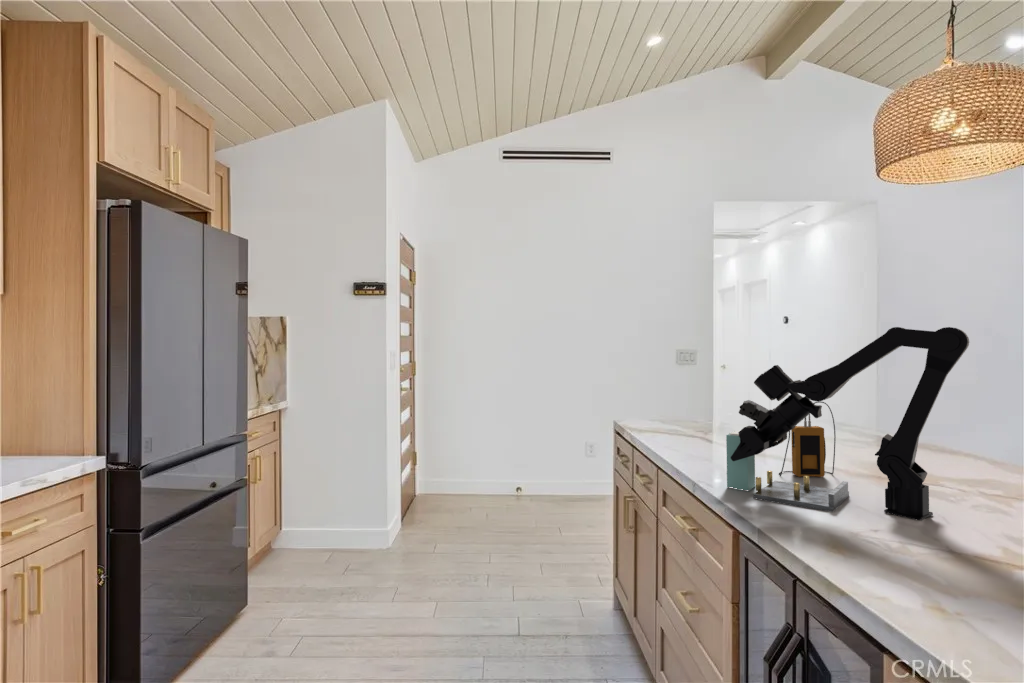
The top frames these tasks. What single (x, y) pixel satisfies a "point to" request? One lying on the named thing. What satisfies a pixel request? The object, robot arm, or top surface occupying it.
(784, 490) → the plate
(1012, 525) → the top surface
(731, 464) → the plate
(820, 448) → the multimeter
